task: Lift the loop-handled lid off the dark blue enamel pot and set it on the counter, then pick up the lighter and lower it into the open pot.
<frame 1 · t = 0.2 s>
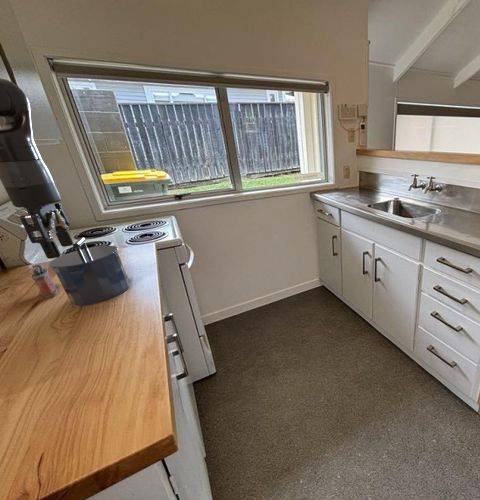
hand: (61, 251, 67), 20 cm above the counter, tool pointing down, fingers open, 8 cm apart
pot lid: (85, 256, 85), point 12 cm above the counter, touching pot
lighter: (51, 294, 90), on the counter
pot: (102, 292, 89), on the counter
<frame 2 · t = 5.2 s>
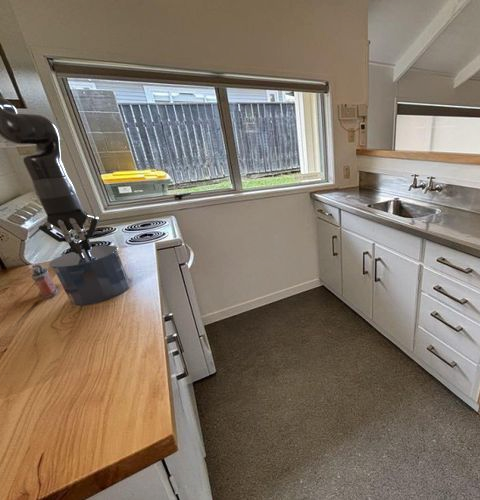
hand: (83, 252, 84), 14 cm above the counter, tool pointing down, fingers closed on pot lid
pot lid: (85, 256, 85), point 12 cm above the counter, touching gripper, pot
everything else where it was.
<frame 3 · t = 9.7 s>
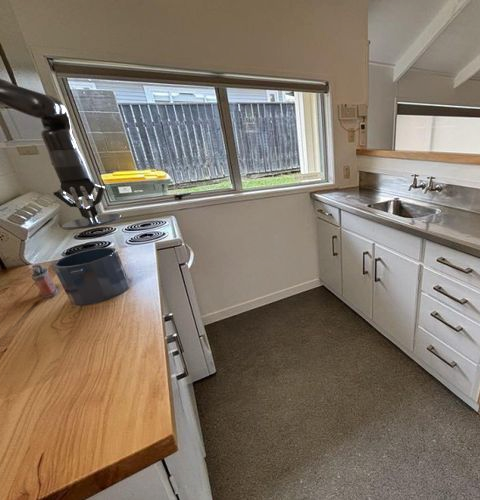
hand: (91, 217, 96), 21 cm above the counter, tool pointing down, fingers closed on pot lid
pot lid: (93, 221, 97), point 19 cm above the counter, touching gripper
everything else where it was.
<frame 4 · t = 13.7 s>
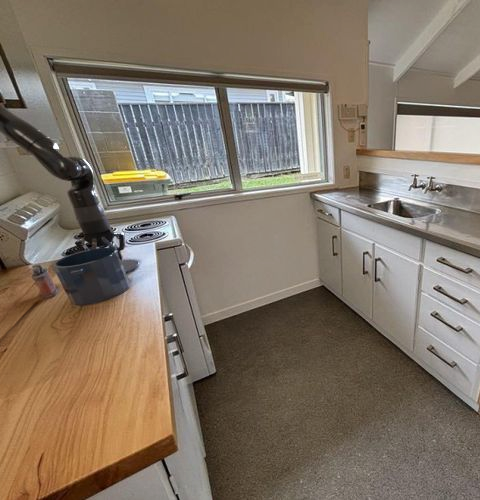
hand: (110, 263, 103), 3 cm above the counter, tool pointing down, fingers open, 4 cm apart
pot lid: (113, 269, 104), point 1 cm above the counter
everything else where it was.
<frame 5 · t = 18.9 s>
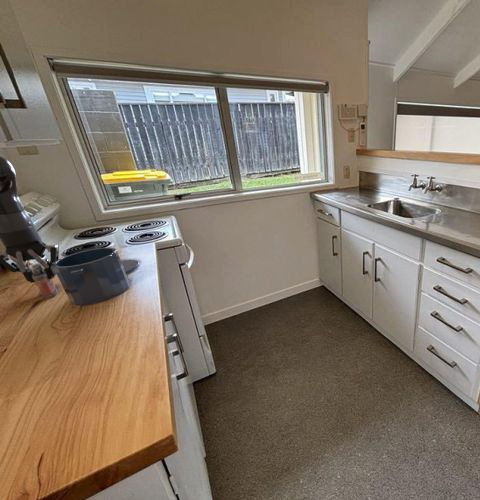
hand: (43, 279, 88), 5 cm above the counter, tool pointing down, fingers closed on lighter, 3 cm apart
lighter: (50, 294, 90), on the counter, touching gripper
everything else where it was.
when the fingers open (6 cm above the counter, at t = 27.4 s): lighter stays where it is, resting on pot.
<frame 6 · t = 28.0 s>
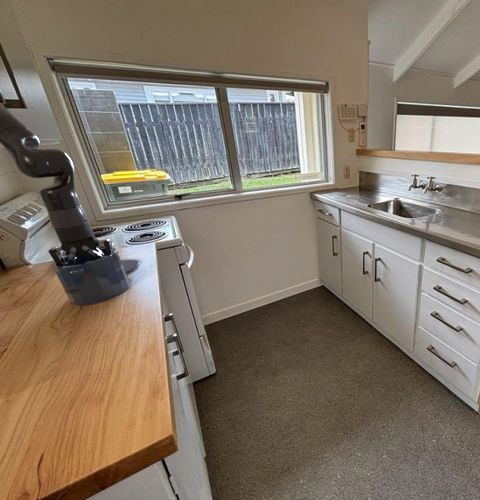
hand: (93, 275, 87), 6 cm above the counter, tool pointing down, fingers open, 6 cm apart
lighter: (101, 291, 89), resting on pot
everything else where it was.
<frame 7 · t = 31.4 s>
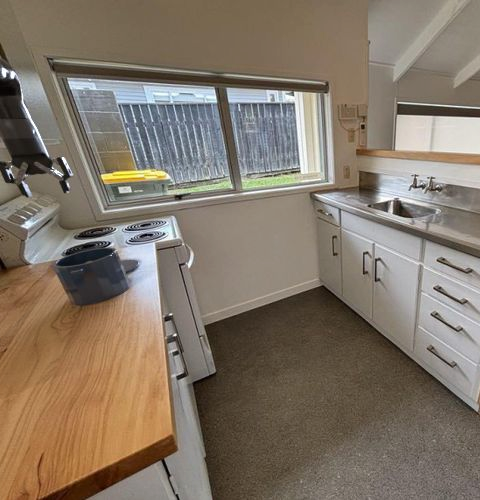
hand: (48, 194, 85), 30 cm above the counter, tool pointing down, fingers open, 8 cm apart
nothing on the counter moved.
at the end: pot lid inside the target area (0.0 cm from its centre), point 0.6 cm above the counter; lighter inside the target area in the pot (0.2 cm from its centre), point 0.3 cm above the pot's base; the gripper is holding nothing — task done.
